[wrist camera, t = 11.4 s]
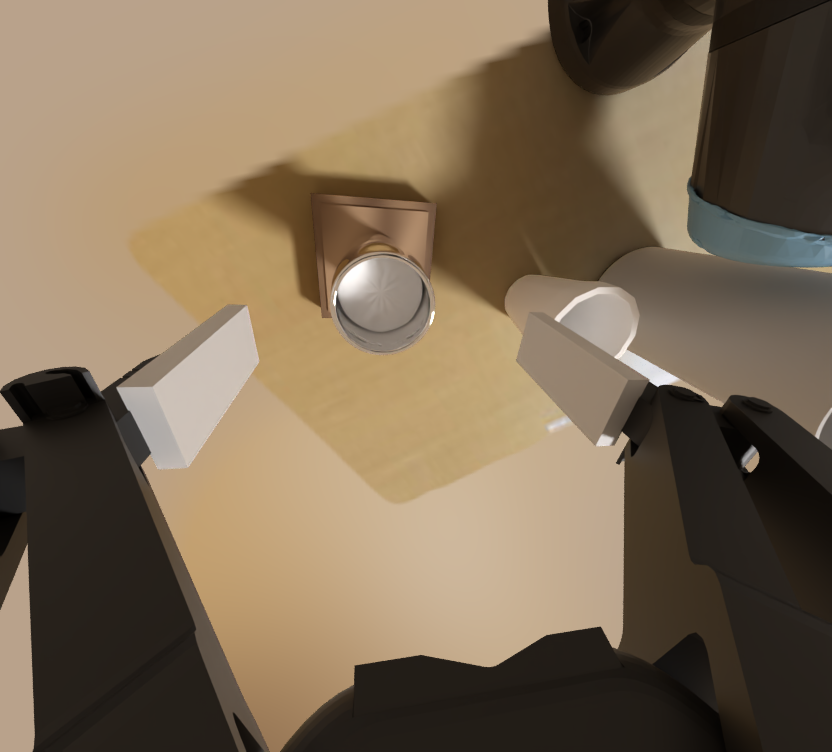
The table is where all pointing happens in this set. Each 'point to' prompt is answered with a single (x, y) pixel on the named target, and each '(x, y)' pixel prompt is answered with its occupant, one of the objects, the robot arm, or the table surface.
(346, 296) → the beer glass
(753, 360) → the cylinder vase
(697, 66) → the table surface
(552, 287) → the foam cup
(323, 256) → the coaster
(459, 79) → the table surface
